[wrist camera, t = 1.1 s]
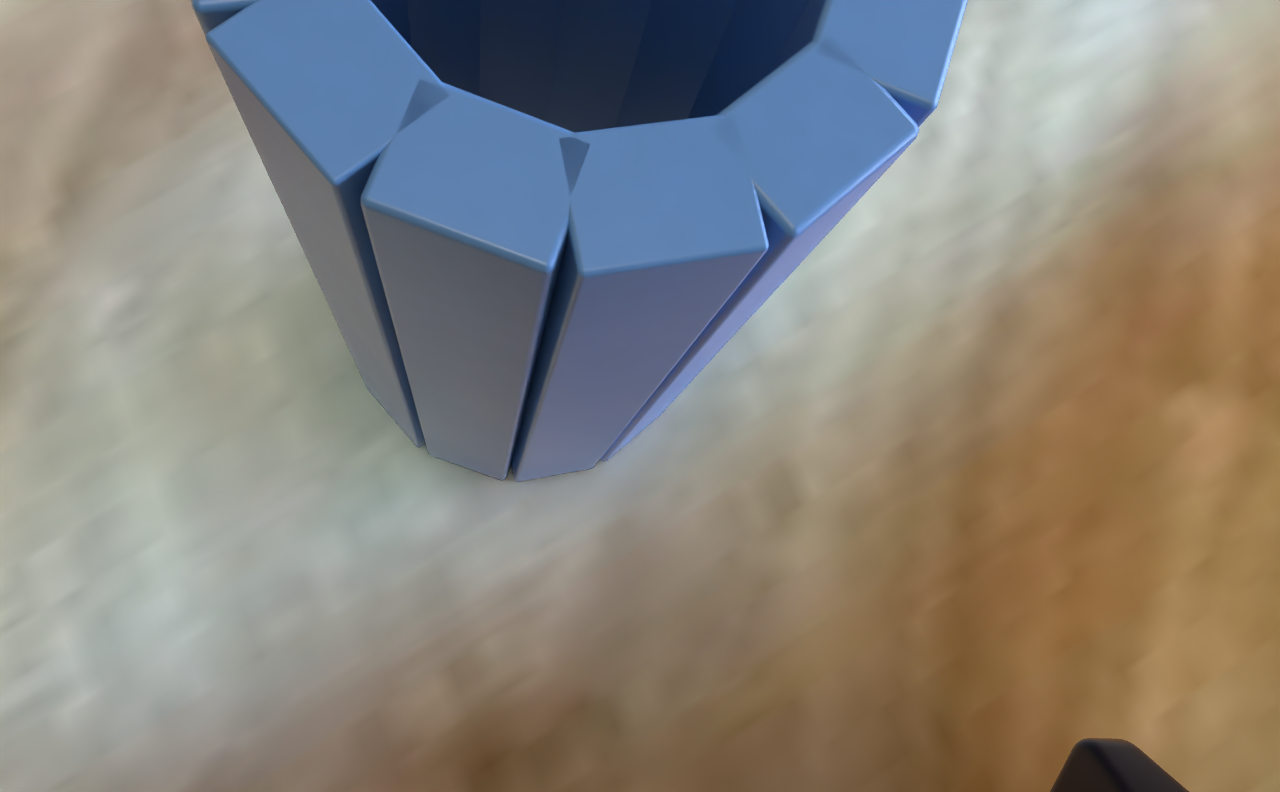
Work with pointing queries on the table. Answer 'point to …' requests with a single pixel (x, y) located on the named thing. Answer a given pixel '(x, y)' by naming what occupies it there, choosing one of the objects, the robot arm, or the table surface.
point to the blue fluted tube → (565, 188)
